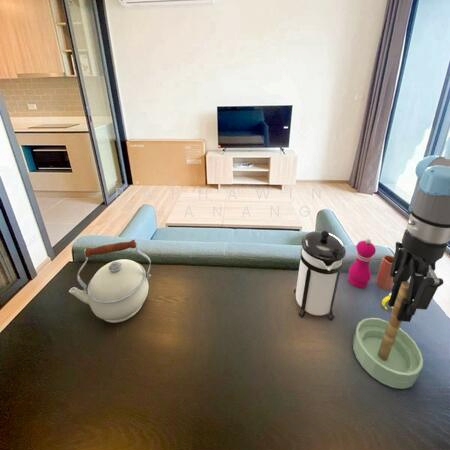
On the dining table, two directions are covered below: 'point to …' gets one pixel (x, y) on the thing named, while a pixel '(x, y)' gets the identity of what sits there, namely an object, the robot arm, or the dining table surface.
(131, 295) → the kettle
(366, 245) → the pepper mill
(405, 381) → the bowl
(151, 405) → the dining table surface
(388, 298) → the watch
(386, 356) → the stirring stick
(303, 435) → the dining table surface
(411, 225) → the robot arm
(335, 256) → the coffee press
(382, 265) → the utensil pot
